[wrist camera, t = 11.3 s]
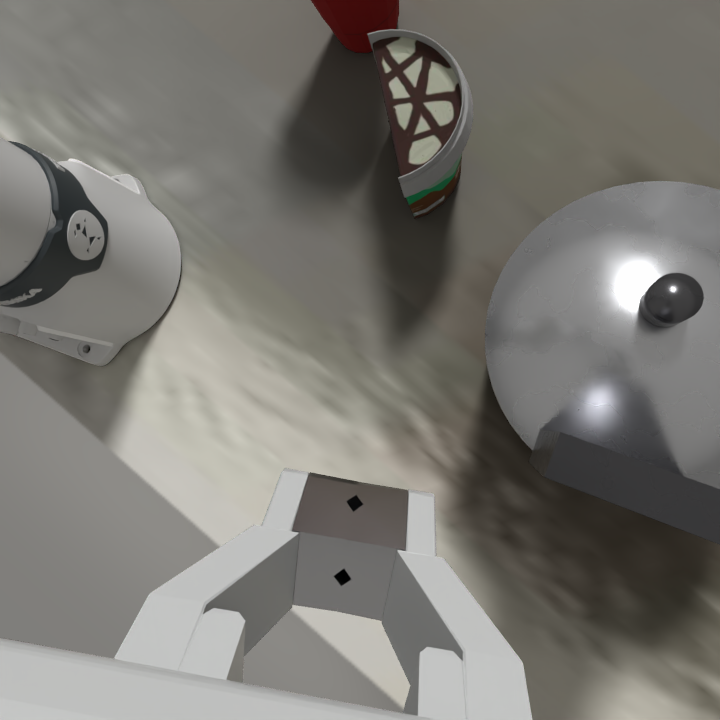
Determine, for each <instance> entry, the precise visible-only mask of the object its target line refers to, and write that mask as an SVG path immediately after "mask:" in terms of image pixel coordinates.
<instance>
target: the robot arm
mask: <svg viewBox="0 0 720 720" xmlns="http://www.w3.org/2000/svg"><path fill="white" fill-rule="evenodd" d="M180 271H181V252H180V246H179V242H178V238H177V236H176V233H175V231H174V229H173V227H172V225H171V224H170V222H169V221H168V219H167V218H166V217H165V216H164V215H163V214H162V213H161V212H160V211H159V210H158V209H157V208H156V207H154V206H153V205H152V204H151V203H150V201H149V200H148V198H147V195H146V192H145V190H144V188H143V186H142V184H141V182H140V181H139V180H138V179H137V178H135V177H133V176H131V175H129V174H122V175H116V176H111V177H109V176H107V175H105V174H104V173H102V172H100V171H98V170H96V169H94V168H92V167H91V166H89V165H87V164H85V163H83V162H81V161H79V160H76V159H69V160H68V161H60V162H56V161H55V160H53V159H52V158H50V157H49V156H47V155H45V154H43V153H41V152H40V151H37V150H35V149H32V148H29V147H27V146H25V145H23V144H20V143H17V142H11V141H7V140H5V139H3V138H1V137H0V332H3V333H7V334H12V335H15V336H18V337H21V338H23V339H26V340H29V341H31V342H34V343H37V344H39V345H42V346H45V347H47V348H50V349H53V350H55V351H58V352H61V353H63V354H66V355H69V356H71V357H74V358H77V359H79V360H82V361H85V362H87V363H90V364H93V365H96V366H104V365H106V364H108V363H109V362H110V361H111V360H112V359H113V358H114V357H115V355H116V354H117V353H118V352H119V350H120V349H121V348H122V346H123V345H124V344H126V343H127V342H128V341H130V340H131V339H133V338H135V337H137V336H138V335H140V334H142V333H143V332H145V331H146V330H148V329H149V328H150V327H151V326H152V325H154V324H155V323H156V322H157V321H158V320H159V318H160V317H161V316H162V315H163V313H164V312H165V311H166V309H167V308H168V306H169V304H170V303H171V301H172V299H173V297H174V294H175V292H176V289H177V286H178V282H179V278H180ZM89 347H90V351H89V352H88V348H89ZM292 605H298V606H305V607H311V608H318V609H324V610H331V611H337V610H338V611H337V612H342V613H347V614H352V615H356V616H361V617H366V618H371V619H376V620H380V621H382V625H383V627H384V629H385V631H386V634H387V636H388V638H389V640H390V642H391V644H392V647H393V649H394V651H395V653H396V655H397V657H398V660H399V662H400V664H401V666H402V668H403V670H404V673H405V675H406V677H407V679H408V681H409V683H410V685H411V686H410V689H409V693H408V696H407V700H406V703H405V707H404V710H403V713H399V712H394V711H389V710H384V709H379V708H373V707H368V706H363V705H357V704H352V703H347V702H341V701H336V700H331V699H325V698H319V697H315V696H309V695H304V694H299V693H293V692H288V691H283V690H277V689H272V688H267V687H262V686H256V685H251V684H245V683H243V665H244V656H245V655H246V654H247V653H248V652H249V651H250V650H251V649H252V648H253V647H254V646H255V645H256V644H257V643H258V642H259V641H260V640H261V638H263V637H264V635H266V634H267V633H268V632H269V630H270V629H271V628H272V627H273V626H274V625H275V624H276V623H277V622H278V621H279V620H280V619H281V618H282V617H283V616H284V615H285V614H286V613H287V612H288V611H289V610H290V609H291V608H292ZM0 720H532V714H531V708H530V702H529V696H528V690H527V684H526V678H525V672H524V666H523V662H522V661H521V659H520V658H519V657H518V655H517V654H516V653H515V651H514V650H513V649H512V647H511V646H510V645H509V643H508V642H507V641H506V639H505V638H504V637H503V635H502V634H501V633H500V631H499V630H498V629H497V628H496V626H495V625H494V624H493V622H492V621H491V620H490V618H489V617H488V616H487V614H486V613H485V612H484V610H483V609H482V608H481V606H480V605H479V604H478V602H477V601H476V600H475V598H474V597H473V596H472V594H471V593H470V592H469V590H468V589H467V588H466V587H465V585H464V584H463V583H462V581H461V580H460V579H459V577H458V576H457V575H456V573H455V572H454V571H453V569H452V568H451V567H450V565H449V564H448V563H447V561H446V560H445V559H444V558H441V557H436V519H435V496H434V494H433V493H429V492H422V491H415V490H405V489H399V488H392V487H386V486H380V485H374V484H368V483H362V482H357V481H352V480H347V479H341V478H336V477H331V476H326V475H321V474H316V473H311V472H310V473H308V472H303V471H298V470H293V469H287V468H285V469H284V470H283V471H282V472H281V475H280V477H279V480H278V483H277V485H276V488H275V491H274V493H273V496H272V499H271V501H270V504H269V507H268V509H267V512H266V515H265V517H264V520H263V523H262V525H261V526H258V525H253V526H251V527H250V528H248V529H247V530H245V531H244V532H242V533H241V534H239V535H238V536H236V537H235V538H233V539H232V540H230V541H228V542H227V543H225V544H224V545H222V546H221V547H219V548H218V549H216V550H215V551H213V552H212V553H210V554H209V555H207V556H206V557H204V558H203V559H201V560H200V561H198V562H197V563H195V564H194V565H192V566H191V567H189V568H188V569H186V570H185V571H183V572H182V573H180V574H179V575H177V576H175V577H174V578H173V579H171V580H170V581H168V582H167V583H165V584H164V585H162V586H160V587H159V588H157V589H156V590H154V591H153V592H151V593H150V594H149V596H148V598H147V599H146V601H145V603H144V605H143V607H142V608H141V610H140V612H139V614H138V616H137V618H136V619H135V621H134V623H133V625H132V627H131V628H130V630H129V632H128V634H127V636H126V638H125V639H124V641H123V643H122V645H121V647H120V649H119V650H118V652H117V654H116V656H115V658H114V659H112V658H107V657H102V656H96V655H91V654H86V653H80V652H74V651H70V650H64V649H58V648H53V647H48V646H43V645H38V644H32V643H26V642H22V641H16V640H11V639H5V638H0Z"/></svg>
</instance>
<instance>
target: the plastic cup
mask: <svg viewBox="0 0 720 720" xmlns="http://www.w3.org/2000/svg"><path fill="white" fill-rule="evenodd" d="M311 1H312V3H313V4H314V6H315V7H316V9H317V10H318V12H319V13H320V15H321V16H322V18H323V19H324V20H325V22H326V23H327V24H328V25H329V27H330V28H331V29H332V31H333V32H334V34H335V35H336V37H337V38H338V39H339V41H340V42H341V43H342V44H343V45H344V46H345V47H346V48H347V49H350V50H352V51H354V52H356V53H369V52H371V51H372V48H371V44H370V41H369V37H368V33H372V32H376V31H380V30H388V29H396V26H397V21H398V16H399V0H311Z"/></svg>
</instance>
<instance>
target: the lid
mask: <svg viewBox="0 0 720 720" xmlns="http://www.w3.org/2000/svg"><path fill="white" fill-rule="evenodd" d="M485 353H486V361H487V369H488V373H489V377H490V381H491V385H492V388H493V391H494V393H495V396H496V398H497V400H498V403H499V405H500V407H501V409H502V411H503V413H504V414H505V416H506V418H507V420H508V421H509V423H510V425H511V426H512V427H513V429H514V430H515V431H516V433H517V434H518V435H519V436H520V438H521V439H522V440H523V441H524V442H525V443H526V444H527V445H528V447H529V448H530V449H531V450H532V454H531V456H530V459H529V463H530V464H531V465H532V466H533V467H534V468H535V469H536V470H537V471H538V472H539V473H540V474H542V475H543V476H544V477H545V478H548V479H551V480H553V481H556V482H558V483H561V484H564V485H566V486H569V487H571V488H574V489H577V490H579V491H582V492H584V493H587V494H590V495H592V496H595V497H597V498H600V499H603V500H605V501H608V502H610V503H613V504H616V505H618V506H621V507H624V508H626V509H629V510H631V511H634V512H637V513H639V514H642V515H644V516H647V517H650V518H652V519H655V520H657V521H660V522H663V523H665V524H668V525H670V526H673V527H676V528H678V529H681V530H683V531H686V532H689V533H691V534H694V535H696V536H699V537H702V538H704V539H707V540H710V541H712V542H715V543H717V544H720V190H718V189H714V188H711V187H707V186H702V185H696V184H690V183H685V182H669V181H653V182H637V183H631V184H626V185H620V186H615V187H612V188H608V189H605V190H602V191H598V192H595V193H592V194H590V195H588V196H585V197H583V198H581V199H578V200H576V201H574V202H572V203H571V204H569V205H567V206H565V207H564V208H562V209H560V210H558V211H557V212H555V213H554V214H553V215H551V216H550V217H549V218H547V219H546V220H545V221H543V222H542V223H541V224H539V225H538V226H537V227H536V228H535V229H534V230H533V231H532V232H531V233H530V234H529V235H528V236H527V237H526V238H525V239H524V240H523V241H522V243H521V244H520V245H519V246H518V248H517V249H516V250H515V251H514V253H513V254H512V255H511V257H510V259H509V260H508V262H507V264H506V265H505V267H504V268H503V270H502V272H501V274H500V276H499V279H498V281H497V283H496V285H495V288H494V290H493V294H492V297H491V301H490V304H489V308H488V313H487V320H486V327H485Z"/></svg>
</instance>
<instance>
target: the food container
mask: <svg viewBox="0 0 720 720" xmlns="http://www.w3.org/2000/svg"><path fill="white" fill-rule="evenodd" d="M368 37H369V41H370V44H371V48H372V51H373V54H374V58H375V61H376V64H377V68H378V72H379V78H380V82H381V86H382V91H383V95H384V100H385V101H384V102H385V105H386V110H387V114H388V119H389V121H388V122H389V123H390V128H391V133H392V138H393V143H394V148H395V152H396V157H397V162H398V166H399V171H400V175H401V177H398V179H399V182H400V185H401V189H402V192H403V195H404V198H405V197H406V199H407V201H408V204H409V206H410V209H411V211H412V214H413V216H414V219H416V218H419V217H422V216H424V215H427V214H429V213H430V212H432V211H433V210H435V209H436V208H437V207H439V206H440V205H442V204H443V203H444V202H445V200H446V199H447V198H448V197H449V196H450V194H451V193H452V192H453V191H454V189H455V186H456V184H457V181H458V179H459V176H460V173H461V159H462V151H463V149H464V147H465V146H466V143H467V140H468V138H469V135H470V132H471V127H472V122H473V101H472V95H471V91H470V88H469V86H468V83H467V80H466V78H465V76H464V74H463V72H462V70H461V68H460V66H459V65H458V63H457V61H456V60H455V59H454V58H453V56H452V55H451V54H450V53H449V52H448V51H447V50H446V49H445V48H443V47H442V46H441V45H440V44H439V43H437V42H436V41H435V40H433V39H431V38H429V37H428V36H426V35H423V34H420V33H417V32H414V31H409V30H403V29H388V30H380V31H376V32H372V33H368Z"/></svg>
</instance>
